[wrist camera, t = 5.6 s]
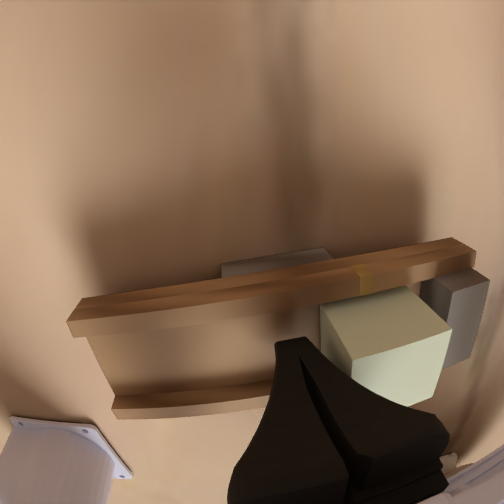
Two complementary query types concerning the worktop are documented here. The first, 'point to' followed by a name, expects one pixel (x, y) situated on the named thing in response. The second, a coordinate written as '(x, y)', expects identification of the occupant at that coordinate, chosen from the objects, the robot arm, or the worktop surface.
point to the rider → (386, 343)
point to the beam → (258, 323)
